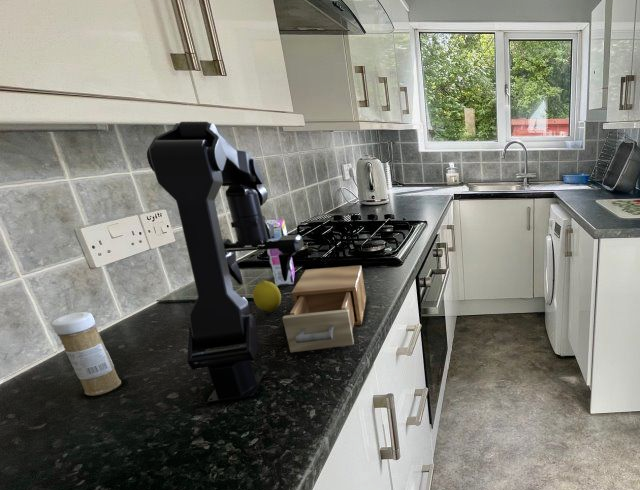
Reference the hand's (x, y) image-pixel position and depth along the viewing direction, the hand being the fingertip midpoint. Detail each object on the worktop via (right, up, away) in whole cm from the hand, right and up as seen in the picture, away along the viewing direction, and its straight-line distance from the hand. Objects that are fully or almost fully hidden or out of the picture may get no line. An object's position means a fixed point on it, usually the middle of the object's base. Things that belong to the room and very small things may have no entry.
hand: (263, 282), depth 94 cm
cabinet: (+16, -7, +2) cm, 18 cm away
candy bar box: (-8, +1, +23) cm, 24 cm away
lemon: (0, -7, +3) cm, 8 cm away
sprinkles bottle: (-12, -19, -25) cm, 33 cm away
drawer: (+19, -11, -10) cm, 25 cm away
